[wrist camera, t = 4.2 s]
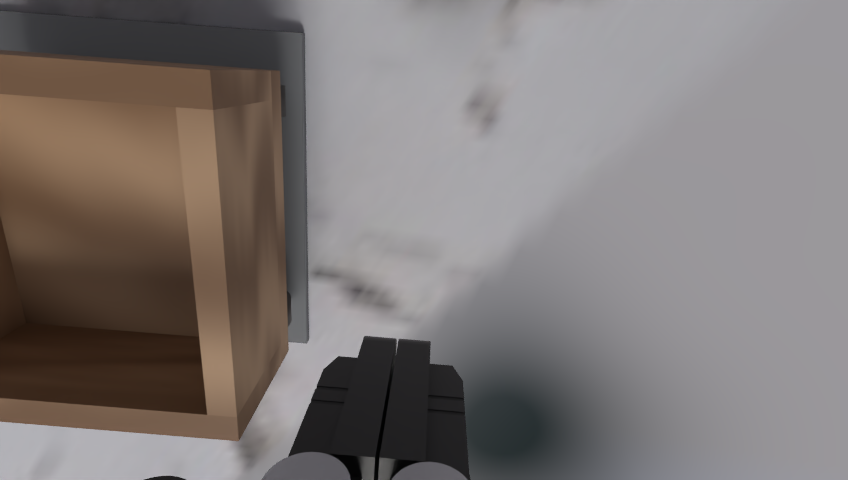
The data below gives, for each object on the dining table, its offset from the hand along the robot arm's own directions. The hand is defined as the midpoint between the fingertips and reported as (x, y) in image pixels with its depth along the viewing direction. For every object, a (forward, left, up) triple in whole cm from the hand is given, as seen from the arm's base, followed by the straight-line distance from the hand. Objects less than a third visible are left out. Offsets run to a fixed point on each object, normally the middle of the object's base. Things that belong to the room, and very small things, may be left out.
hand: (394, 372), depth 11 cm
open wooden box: (0, -11, -13) cm, 17 cm away
